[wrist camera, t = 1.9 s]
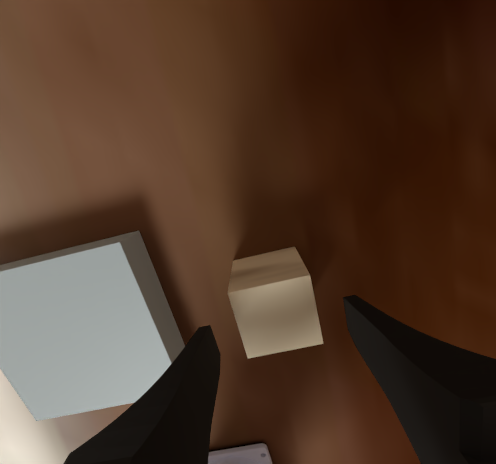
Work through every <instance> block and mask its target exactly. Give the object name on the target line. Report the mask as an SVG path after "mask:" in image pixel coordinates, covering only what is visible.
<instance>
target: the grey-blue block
mask: <svg viewBox="0 0 496 464" xmlns="http://www.w3.org/2000/svg"><path fill="white" fill-rule="evenodd" d="M184 347H185V344H184V342H183V339H182V337H181V334H180V332H179V329H178V327H177V324H176V322H175V319H174V317H173V314H172V312H171V309H170V307H169V304H168V302H167V299H166V297H165V294H164V292H163V289H162V287H161V284H160V282H159V279H158V277H157V274H156V272H155V269H154V267H153V264H152V262H151V259H150V257H149V254H148V252H147V249H146V247H145V244H144V242H143V239H142V237H141V234H140V232H139V231H135V232H131V233H127V234H123V235H119V236H115V237H111V238H107V239H103V240H99V241H95V242H91V243H87V244H83V245H78V246H74V247H70V248H66V249H62V250H58V251H54V252H50V253H46V254H42V255H38V256H34V257H30V258H26V259H22V260H18V261H14V262H10V263H6V264H2V265H0V369H1V370H2V372H3V373H4V375H5V376H6V378H7V379H8V381H9V382H10V383H11V385H12V386H13V388H14V389H15V391H16V392H17V394H18V395H19V397H20V398H21V399H22V401H23V402H24V404H25V405H26V407H27V408H28V410H29V411H30V413H31V414H32V415H33V417H34V418H35V420H36V421H39V420H45V419H50V418H55V417H61V416H66V415H71V414H76V413H82V412H87V411H92V410H98V409H103V408H108V407H113V406H119V405H124V404H129V403H134V402H136V401H137V400H138V399H139V398H140V397H141V396H142V395H144V394H145V393H146V392H147V391H148V390H149V388H150V387H151V386H152V385H153V384H154V383H155V382H156V381H157V380H158V379H159V378H160V377H161V376H162V375H163V373H164V372H165V371H166V370H167V369H168V367H169V366H170V365H171V364H172V363H173V361H174V360H175V359H176V358H177V356H178V355H179V354H180V352H181V351H182V350H183V349H184Z"/></svg>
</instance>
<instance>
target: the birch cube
mask: <svg viewBox="0 0 496 464" xmlns="http://www.w3.org/2000/svg"><path fill="white" fill-rule="evenodd" d="M228 296H229V299H230V302H231V306H232V309H233V312H234V315H235V319H236V322H237V325H238V328H239V332H240V335H241V338H242V341H243V344H244V348H245V351H246V354H247V357H248V358H253V357H258V356H264V355H269V354H274V353H279V352H284V351H289V350H294V349H299V348H304V347H309V346H314V345H320V344H323V339H322V334H321V328H320V323H319V318H318V313H317V308H316V303H315V298H314V292H313V287H312V282H311V277H310V274H309V272H308V270H307V268H306V266H305V265H304V263H303V261H302V259H301V257H300V255H299V253H298V252H297V250H296V248H295V247H290V248H286V249H282V250H277V251H273V252H269V253H264V254H260V255H255V256H251V257H247V258H242V259H238V260H234V261H233V265H232V270H231V276H230V282H229V288H228Z"/></svg>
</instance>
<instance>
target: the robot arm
mask: <svg viewBox="0 0 496 464" xmlns="http://www.w3.org/2000/svg"><path fill="white" fill-rule="evenodd" d="M343 300H344V307H345V313H346V320H347V326H348V331H349V333H350V335H351V337H352V339H353V341H354V343H355V345H356V347H357V349H358V351H359V353H360V354H361V356H362V357H363V359H364V361H365V362H366V364H367V365H368V367H369V369H370V370H371V372H372V373H373V375H374V376H375V378H376V380H377V381H378V383H379V384H380V386H381V388H382V389H383V391H384V392H385V394H386V396H387V398H388V399H389V401H390V403H391V405H392V407H393V409H394V411H395V413H396V414H397V416H398V418H399V420H400V422H401V424H402V426H403V428H404V430H405V432H406V434H407V436H408V438H409V440H410V442H411V444H412V446H413V448H414V450H415V452H416V454H417V456H418V458H419V460H420V462H421V464H496V359H493V358H490V357H487V356H483V355H480V354H477V353H474V352H471V351H468V350H465V349H462V348H459V347H456V346H454V345H451V344H448V343H445V342H443V341H440V340H438V339H435V338H433V337H431V336H428V335H426V334H424V333H422V332H419V331H417V330H415V329H413V328H411V327H409V326H407V325H405V324H403V323H401V322H399V321H397V320H396V319H394V318H392V317H390V316H388V315H387V314H385V313H383V312H382V311H380V310H378V309H377V308H375V307H373V306H372V305H370V304H369V303H367V302H365V301H364V300H362V299H361V298H359V297H358V296H356V295H352V296H347V297H343ZM219 375H220V352H219V349H218V346H217V344H216V341H215V338H214V335H213V332H212V329H211V326H210V325H208V326H203V327H199V328H198V330H197V331H196V332H195V334H194V335H193V336H192V338H191V339H190V340H189V342H188V343H187V345H186V346H185V347H184V349H183V350H182V351H181V352H180V354H179V355H178V356H177V358H176V359H175V360H174V361H173V363H172V364H171V365H170V366H169V367H168V369H167V370H166V371H165V372H164V373H163V375H162V376H161V377H160V378H159V379H158V380H157V381H156V382H155V383H154V384H153V385H152V386H151V387H150V388H149V390H148V391H147V392H146V393H145V394H144V395H142V396H141V397H140V398H139V399H138V400H137V401H136V402H135V403H134V404H133V405H132V406H131V407H129V408H128V409H127V410H126V411H125V412H124V413H123V414H121V415H120V416H119V417H118V418H117V419H116V420H114V421H113V422H112V423H111V424H109V425H108V426H107V427H106V428H104V429H103V430H102V431H100V432H99V433H98V434H96V435H95V436H94V437H92V438H91V439H90V440H88V441H87V442H85V443H84V444H83V445H81V446H80V447H78V448H77V449H76V450H74V451H73V452H71V453H70V454H69V456H68V457H67V459H66V461H65V462H64V464H273V463H272V460H271V457H270V454H269V451H268V448H267V445H266V444H264V443H260V444H254V445H248V446H242V447H236V448H230V449H224V450H218V451H212V452H209V443H210V432H211V424H212V417H213V411H214V406H215V400H216V394H217V388H218V382H219Z"/></svg>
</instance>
